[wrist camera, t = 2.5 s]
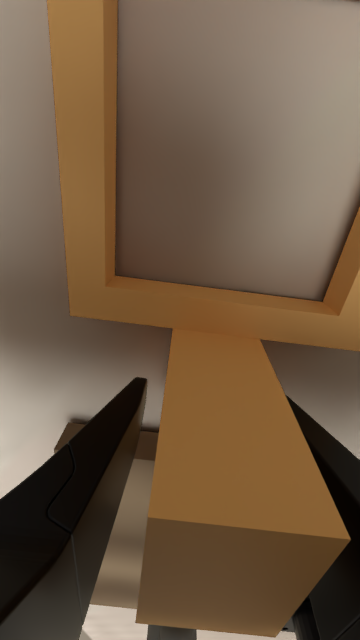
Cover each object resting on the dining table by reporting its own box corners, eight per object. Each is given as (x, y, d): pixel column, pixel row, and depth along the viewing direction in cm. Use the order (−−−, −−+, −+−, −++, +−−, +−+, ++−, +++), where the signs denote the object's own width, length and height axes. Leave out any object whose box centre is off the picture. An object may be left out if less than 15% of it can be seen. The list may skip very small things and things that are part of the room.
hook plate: (240, 591, 20) (258, 740, 15) (82, 574, 20) (41, 719, 15) (310, 450, 13) (396, 637, 8) (68, 422, 13) (-23, 593, 7)
